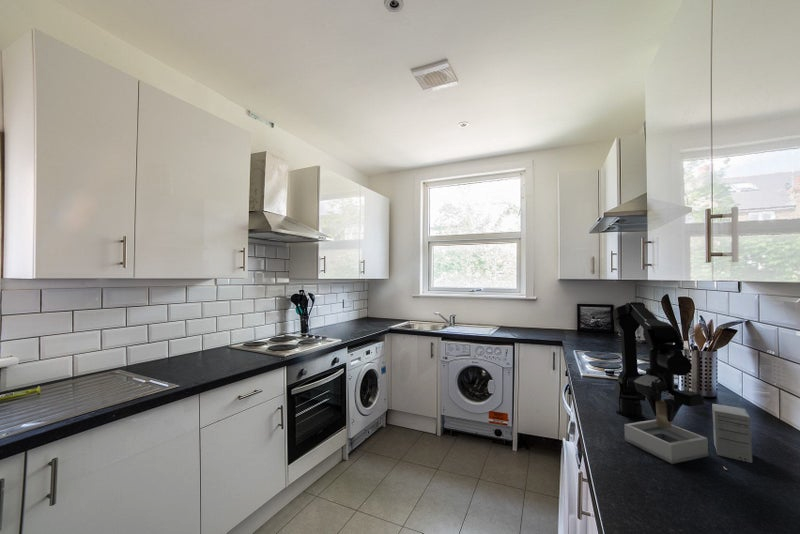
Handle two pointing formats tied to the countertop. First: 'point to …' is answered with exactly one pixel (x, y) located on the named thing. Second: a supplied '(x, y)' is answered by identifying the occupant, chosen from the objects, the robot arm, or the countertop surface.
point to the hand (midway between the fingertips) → (663, 419)
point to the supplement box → (732, 432)
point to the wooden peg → (662, 414)
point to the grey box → (666, 441)
